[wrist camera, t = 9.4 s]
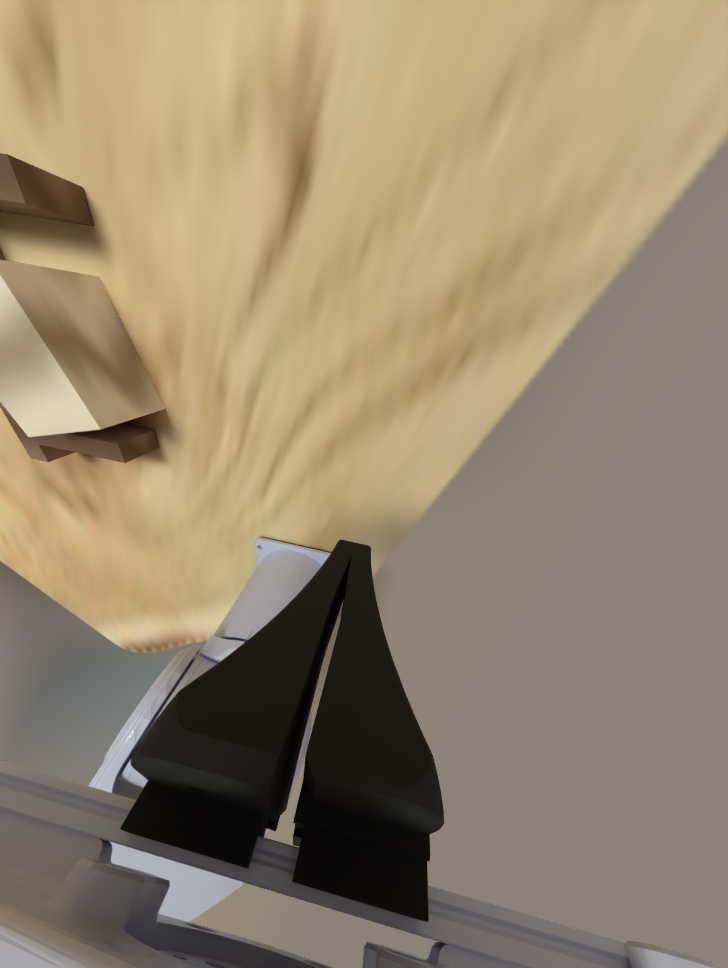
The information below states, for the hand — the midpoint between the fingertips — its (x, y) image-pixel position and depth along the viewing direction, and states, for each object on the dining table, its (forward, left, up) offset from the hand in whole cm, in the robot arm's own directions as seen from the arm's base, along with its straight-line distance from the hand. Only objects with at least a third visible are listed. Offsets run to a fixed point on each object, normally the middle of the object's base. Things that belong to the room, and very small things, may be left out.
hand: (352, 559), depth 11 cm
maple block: (+4, +21, -10) cm, 23 cm away
